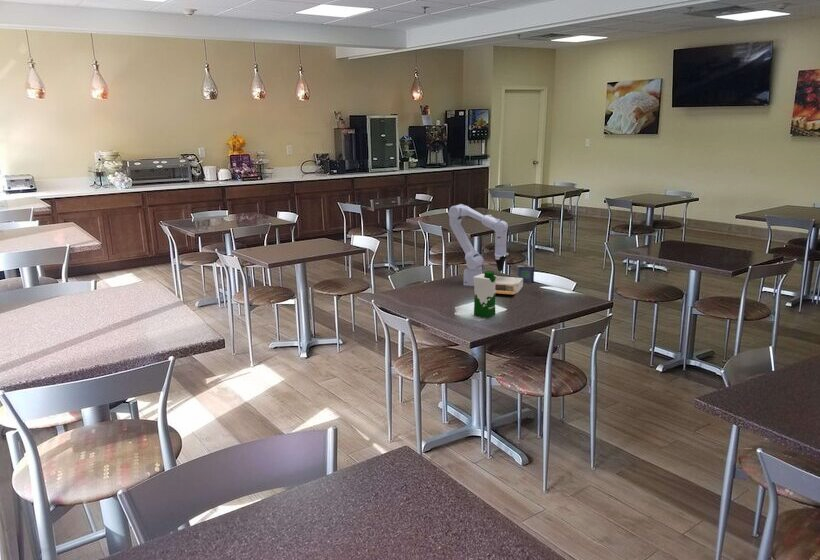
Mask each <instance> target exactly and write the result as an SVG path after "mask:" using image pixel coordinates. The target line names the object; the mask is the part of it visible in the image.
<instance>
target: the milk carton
mask: <svg viewBox="0 0 820 560" xmlns="http://www.w3.org/2000/svg"><path fill="white" fill-rule="evenodd" d="M494 273H495V272H494V271H491V270H490V271H488V270H487V271H485V272H484V273H482V274H480V275H477V276H474V277H473V279H474V286H473V288H474V289H473V290H474V291H473V292H474V293H473V295H474V296H473V297H474V300H473V302H474V304H473V305H474V306H473V316H474V315H476V316H475V317H479V316H480V318H484V317H485V319H488V317H489V318H491V317H493V316H495V315H496V293H495V286H496V280H497V276H498V275H495V274H494ZM492 315H493V316H492Z"/></svg>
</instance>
